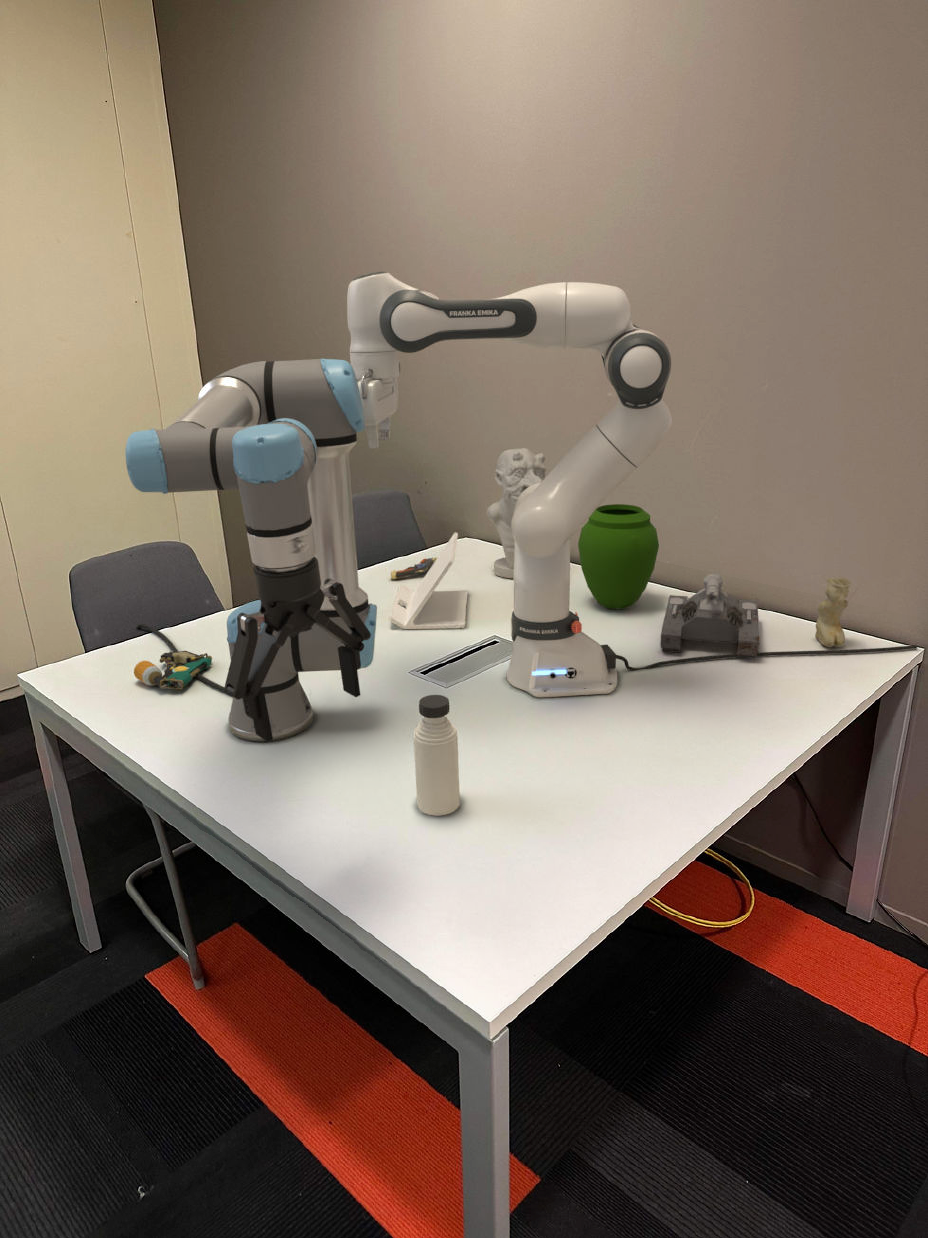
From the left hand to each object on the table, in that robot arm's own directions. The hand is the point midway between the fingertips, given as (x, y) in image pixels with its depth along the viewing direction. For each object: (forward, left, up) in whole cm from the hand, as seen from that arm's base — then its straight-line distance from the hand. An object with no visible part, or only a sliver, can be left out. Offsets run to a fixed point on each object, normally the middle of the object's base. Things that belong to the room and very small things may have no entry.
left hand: (309, 714), depth 109 cm
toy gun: (-87, +105, -24) cm, 139 cm away
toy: (+2, +110, -24) cm, 113 cm away
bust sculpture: (-60, +121, -24) cm, 137 cm away
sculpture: (+24, +122, -24) cm, 127 cm away
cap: (+1, +22, -7) cm, 23 cm away
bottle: (+1, +22, -24) cm, 33 cm away
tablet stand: (-61, +84, -24) cm, 106 cm away
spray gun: (-76, +22, -24) cm, 82 cm away
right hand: (-40, +51, +24) cm, 70 cm away
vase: (-27, +116, -24) cm, 121 cm away
